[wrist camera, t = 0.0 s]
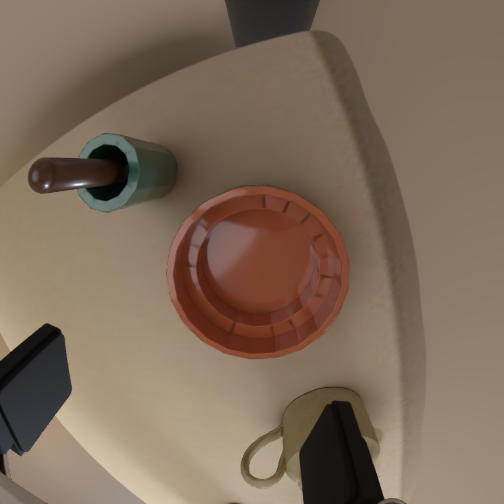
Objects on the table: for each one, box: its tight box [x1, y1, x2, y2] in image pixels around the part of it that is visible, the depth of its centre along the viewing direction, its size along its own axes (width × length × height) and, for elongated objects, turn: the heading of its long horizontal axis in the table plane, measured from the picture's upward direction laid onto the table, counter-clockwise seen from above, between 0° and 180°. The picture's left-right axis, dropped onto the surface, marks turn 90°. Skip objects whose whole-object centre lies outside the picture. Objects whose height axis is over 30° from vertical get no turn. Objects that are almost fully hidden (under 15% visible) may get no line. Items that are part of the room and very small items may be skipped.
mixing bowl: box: [166, 184, 349, 359], centre depth 25 cm, size 14×14×6 cm
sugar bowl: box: [241, 387, 380, 490], centre depth 26 cm, size 15×11×15 cm
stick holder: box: [77, 133, 177, 213], centre depth 22 cm, size 5×5×9 cm
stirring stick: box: [28, 158, 130, 194], centre depth 18 cm, size 2×2×16 cm
